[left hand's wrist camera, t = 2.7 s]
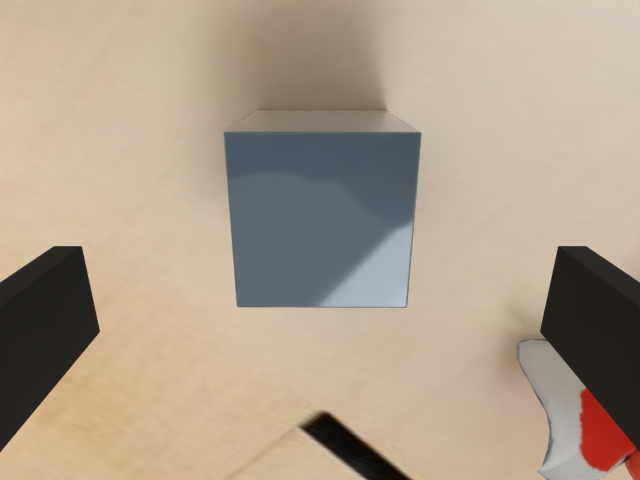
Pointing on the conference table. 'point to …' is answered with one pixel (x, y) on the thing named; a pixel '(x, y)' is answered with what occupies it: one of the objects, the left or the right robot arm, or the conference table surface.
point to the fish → (574, 420)
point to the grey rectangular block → (322, 207)
